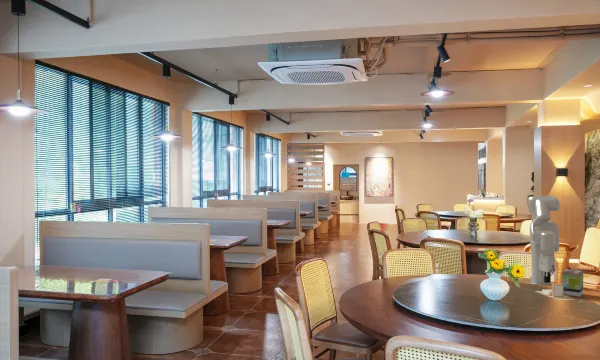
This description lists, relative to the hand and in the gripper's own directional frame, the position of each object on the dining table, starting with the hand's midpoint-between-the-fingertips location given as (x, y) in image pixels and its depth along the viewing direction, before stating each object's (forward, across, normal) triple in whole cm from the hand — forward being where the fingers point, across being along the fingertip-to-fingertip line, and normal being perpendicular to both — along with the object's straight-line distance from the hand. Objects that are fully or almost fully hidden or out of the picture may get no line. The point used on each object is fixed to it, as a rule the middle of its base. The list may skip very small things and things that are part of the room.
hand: (547, 282), depth 279 cm
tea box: (+8, +3, +14) cm, 17 cm away
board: (+7, +8, 0) cm, 10 cm away
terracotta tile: (+6, +10, 0) cm, 12 cm away
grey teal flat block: (+5, 0, 0) cm, 5 cm away
